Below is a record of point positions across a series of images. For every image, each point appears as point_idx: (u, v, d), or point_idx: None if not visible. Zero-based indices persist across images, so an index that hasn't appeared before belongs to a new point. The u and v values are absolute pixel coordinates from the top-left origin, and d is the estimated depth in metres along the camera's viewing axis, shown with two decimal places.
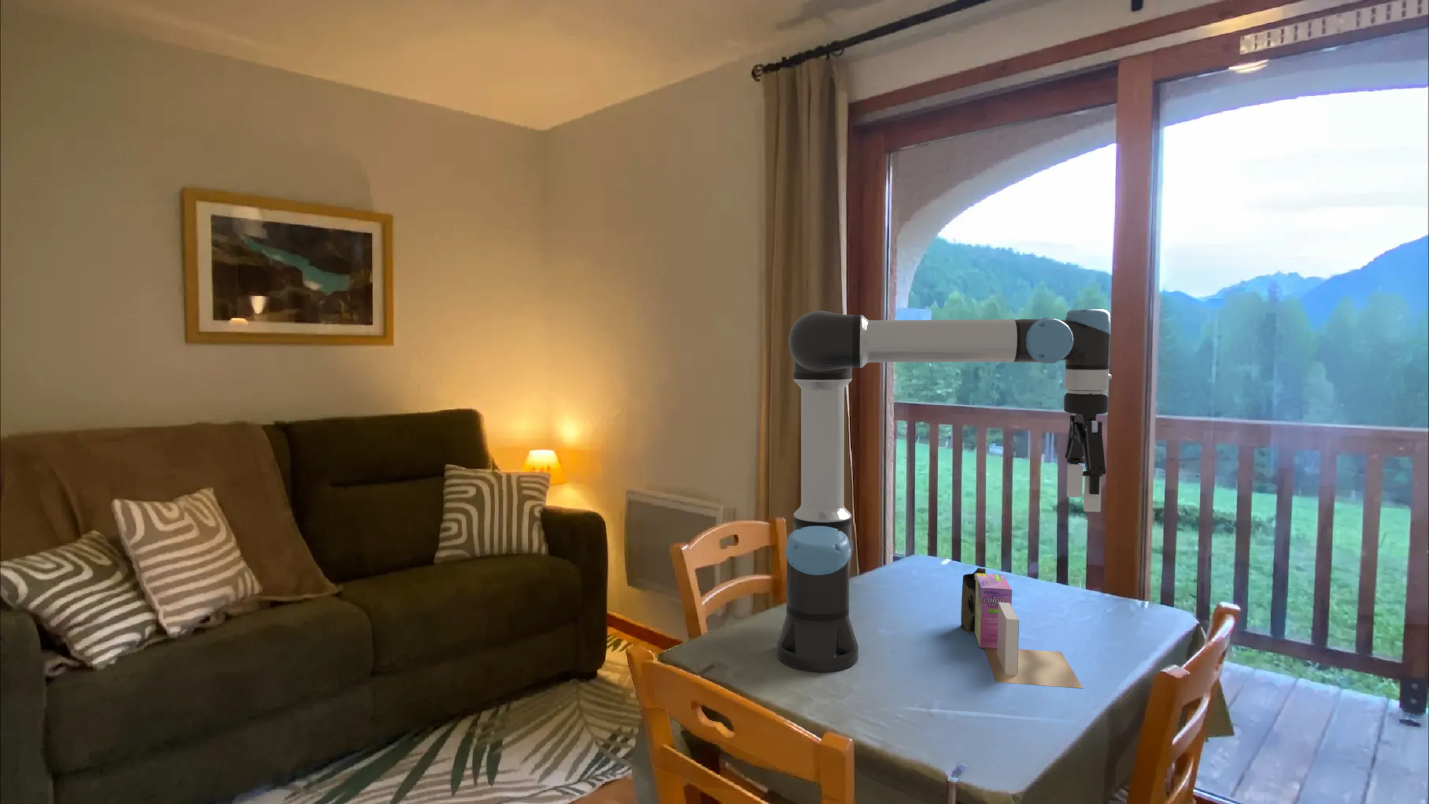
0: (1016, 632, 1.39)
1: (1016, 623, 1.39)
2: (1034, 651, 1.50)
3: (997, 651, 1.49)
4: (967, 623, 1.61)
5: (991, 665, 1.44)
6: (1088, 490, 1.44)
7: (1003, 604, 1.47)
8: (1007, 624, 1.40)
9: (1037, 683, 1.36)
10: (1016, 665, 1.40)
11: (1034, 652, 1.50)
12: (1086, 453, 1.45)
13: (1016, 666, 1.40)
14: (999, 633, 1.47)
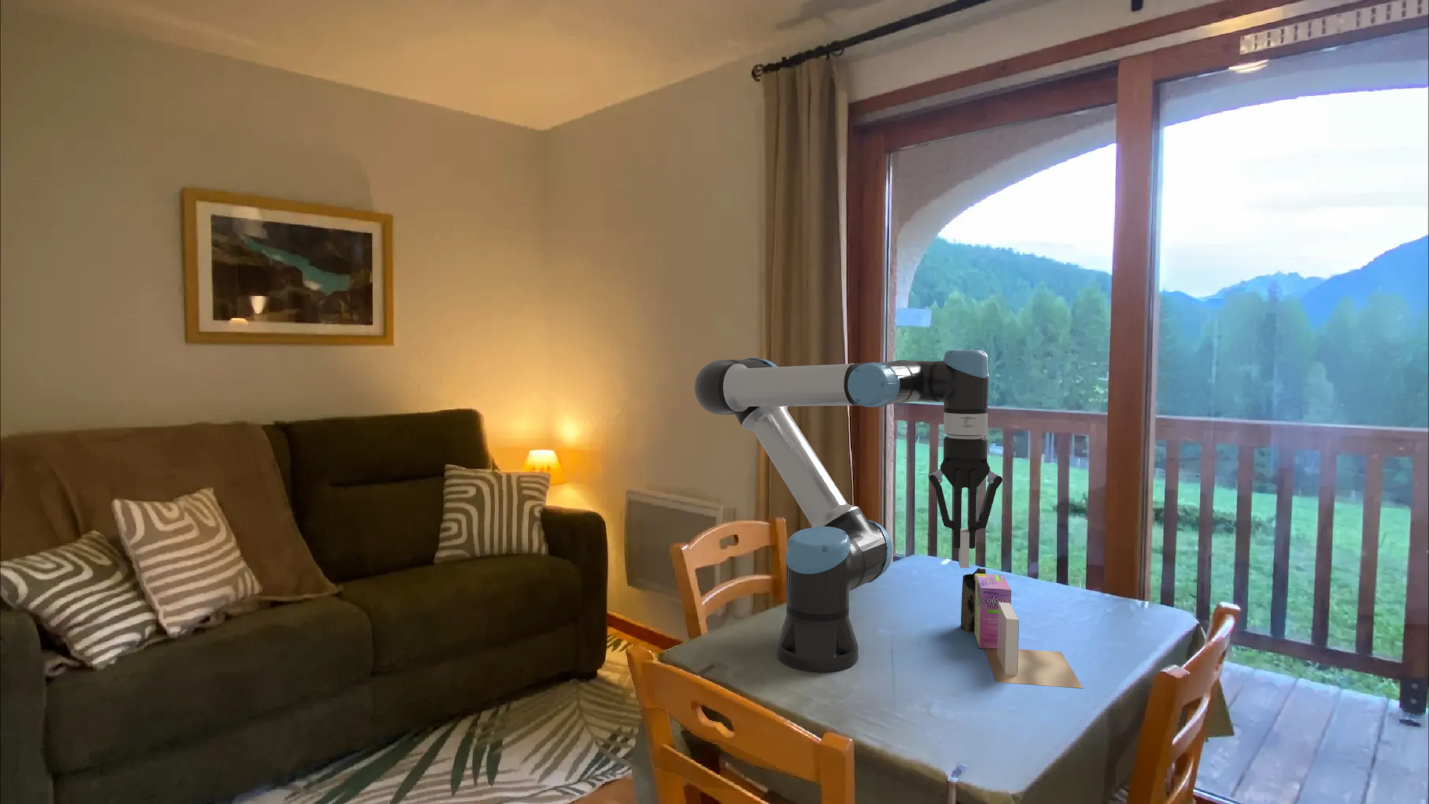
0: (1016, 632, 1.39)
1: (1016, 623, 1.39)
2: (1034, 651, 1.50)
3: (997, 651, 1.49)
4: (967, 624, 1.61)
5: (991, 665, 1.44)
6: None
7: (1003, 604, 1.47)
8: (1007, 624, 1.40)
9: (1037, 683, 1.36)
10: (1016, 665, 1.40)
11: (1034, 652, 1.50)
12: None
13: (1016, 666, 1.40)
14: (999, 633, 1.47)
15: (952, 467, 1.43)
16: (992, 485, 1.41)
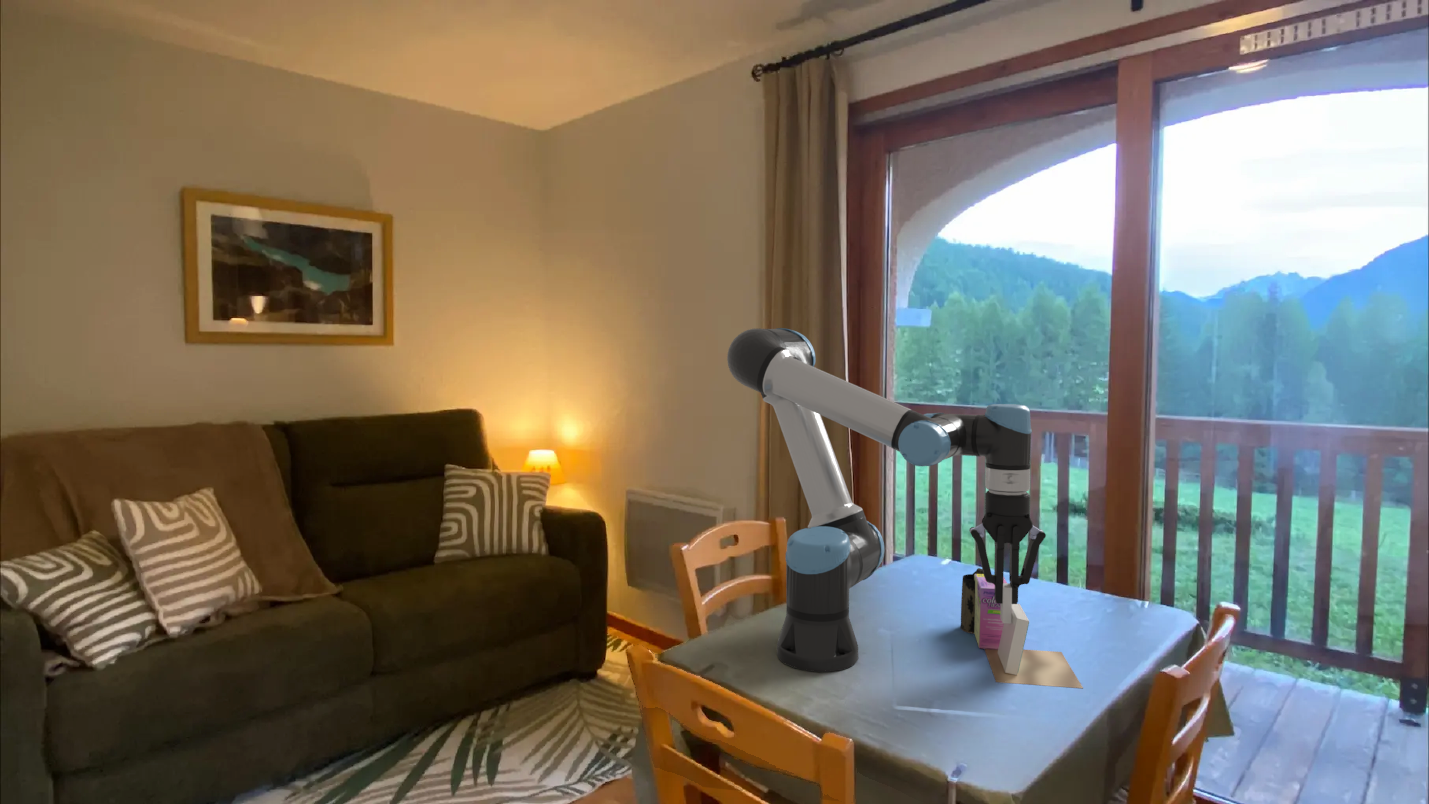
0: (1024, 633, 1.39)
1: (1026, 624, 1.39)
2: (1034, 651, 1.50)
3: (998, 649, 1.49)
4: (966, 624, 1.61)
5: (991, 665, 1.44)
6: None
7: (1013, 604, 1.47)
8: (1017, 624, 1.39)
9: (1037, 683, 1.36)
10: (1018, 665, 1.40)
11: (1034, 652, 1.50)
12: None
13: (1018, 666, 1.40)
14: (1004, 632, 1.47)
15: (994, 522, 1.42)
16: (1035, 541, 1.41)
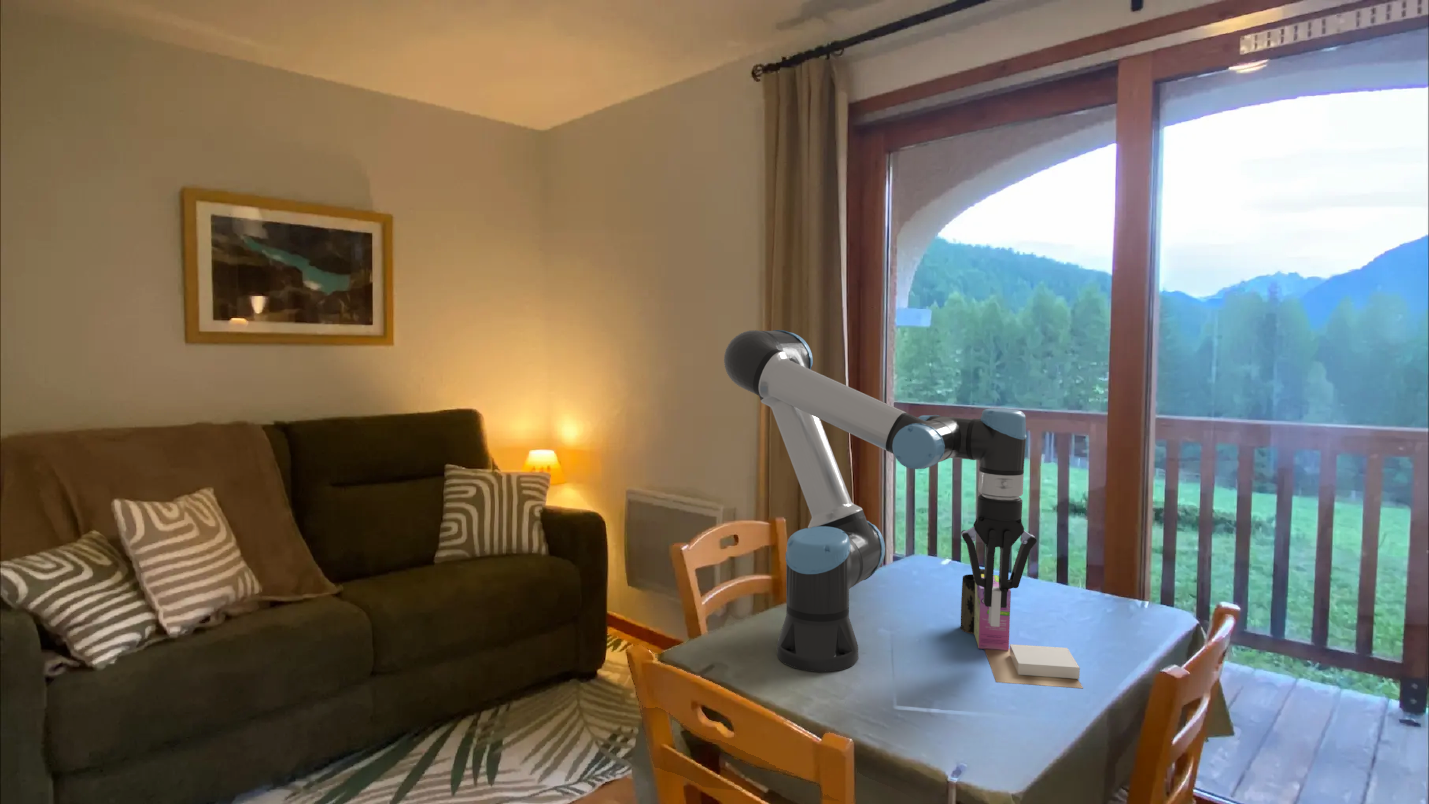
0: (1064, 676, 1.38)
1: (1074, 676, 1.38)
2: None
3: (1013, 644, 1.48)
4: (966, 624, 1.61)
5: (991, 665, 1.44)
6: None
7: None
8: (1073, 668, 1.38)
9: (1037, 683, 1.36)
10: (1028, 674, 1.40)
11: None
12: (985, 562, 1.45)
13: (1027, 674, 1.40)
14: (1039, 650, 1.46)
15: (986, 526, 1.42)
16: (1026, 546, 1.41)
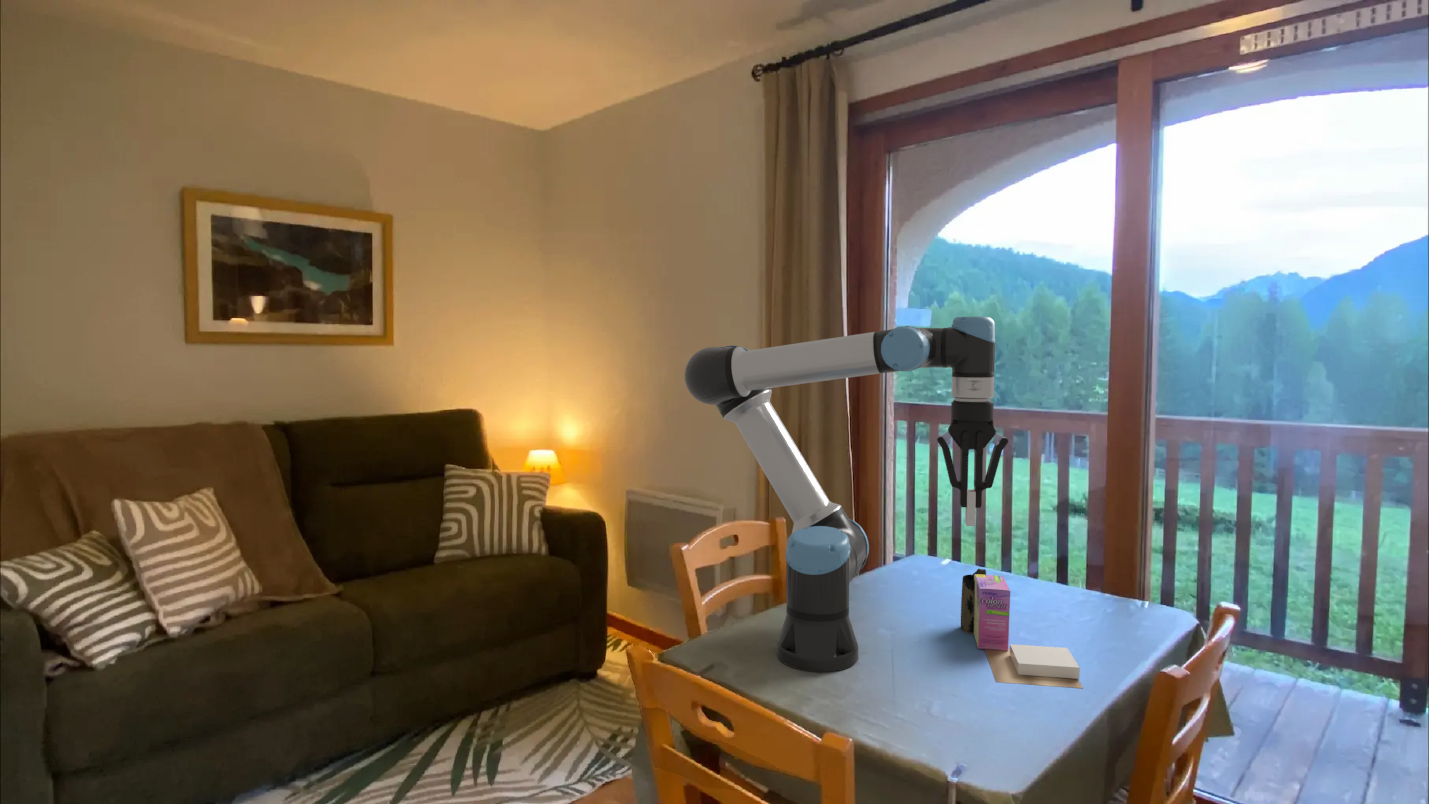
0: (1064, 676, 1.38)
1: (1074, 676, 1.38)
2: None
3: (1013, 644, 1.48)
4: (966, 624, 1.60)
5: (991, 665, 1.44)
6: None
7: None
8: (1073, 668, 1.38)
9: (1037, 683, 1.36)
10: (1028, 674, 1.40)
11: None
12: (960, 466, 1.51)
13: (1027, 674, 1.40)
14: (1039, 650, 1.46)
15: (959, 429, 1.49)
16: (998, 446, 1.47)
